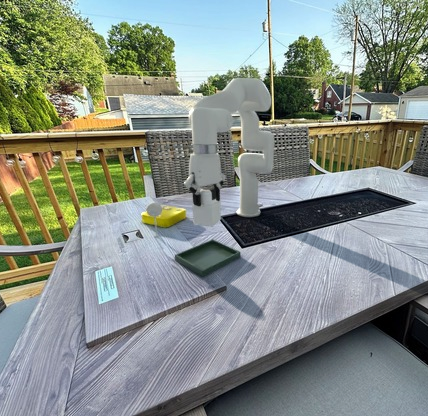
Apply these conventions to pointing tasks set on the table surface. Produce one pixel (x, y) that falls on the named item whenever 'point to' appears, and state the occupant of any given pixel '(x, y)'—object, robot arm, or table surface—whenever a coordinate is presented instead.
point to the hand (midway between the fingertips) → (207, 202)
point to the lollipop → (154, 211)
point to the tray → (207, 257)
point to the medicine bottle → (207, 209)
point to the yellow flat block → (165, 216)
